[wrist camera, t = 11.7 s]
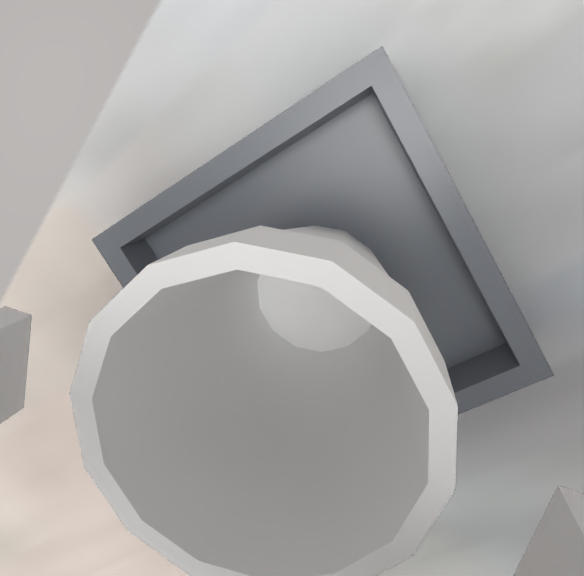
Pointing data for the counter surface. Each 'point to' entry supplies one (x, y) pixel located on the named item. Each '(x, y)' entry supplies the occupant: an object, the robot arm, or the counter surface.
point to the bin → (356, 218)
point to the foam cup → (268, 408)
